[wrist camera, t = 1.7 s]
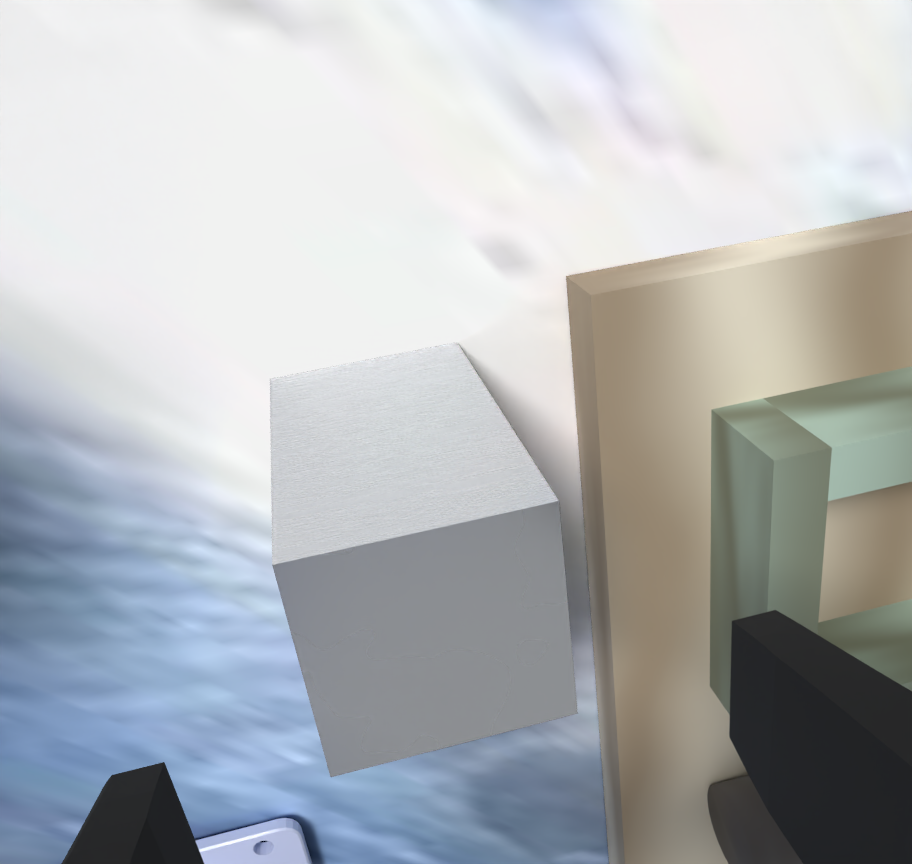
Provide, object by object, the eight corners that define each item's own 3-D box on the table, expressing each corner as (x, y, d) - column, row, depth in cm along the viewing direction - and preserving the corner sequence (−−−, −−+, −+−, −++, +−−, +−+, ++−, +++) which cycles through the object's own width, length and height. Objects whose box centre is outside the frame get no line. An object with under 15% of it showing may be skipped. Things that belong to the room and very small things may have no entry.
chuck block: (610, 889, 27) (664, 1020, 23) (566, 276, 18) (641, 334, 14) (977, 783, 28) (1080, 890, 25) (1102, 174, 19) (1290, 204, 16)
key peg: (309, 539, 19) (330, 777, 13) (269, 378, 17) (272, 564, 11) (479, 501, 20) (577, 713, 13) (456, 342, 18) (559, 500, 12)
